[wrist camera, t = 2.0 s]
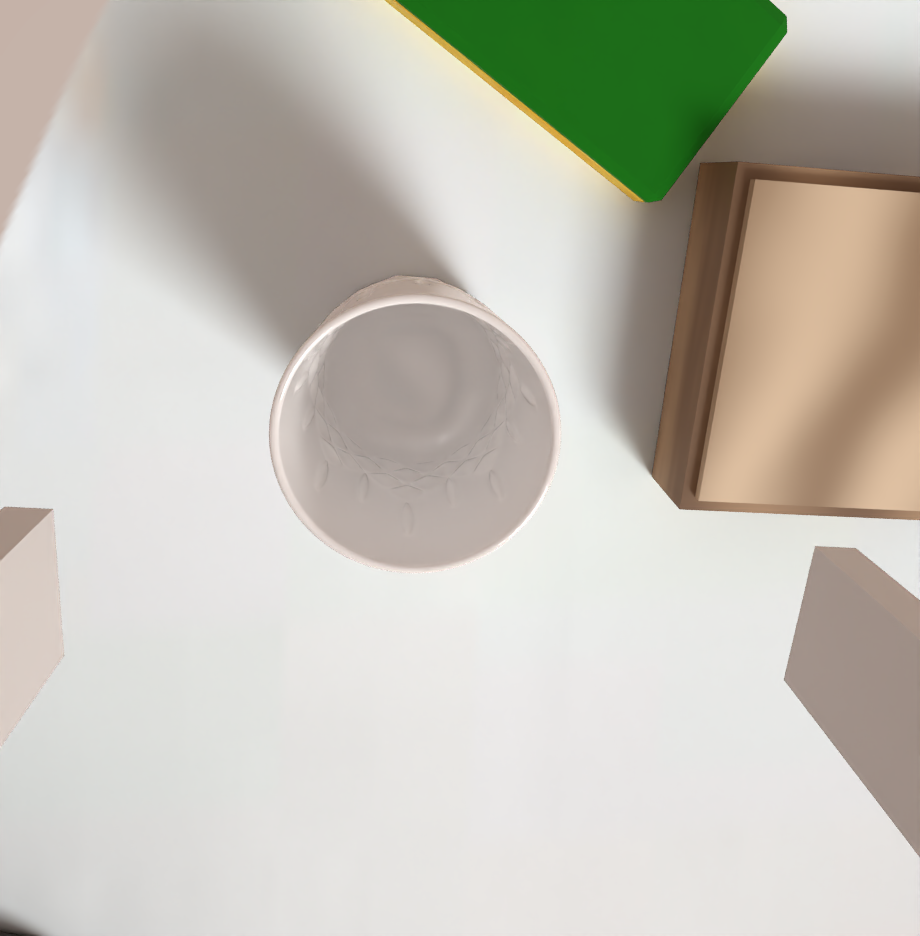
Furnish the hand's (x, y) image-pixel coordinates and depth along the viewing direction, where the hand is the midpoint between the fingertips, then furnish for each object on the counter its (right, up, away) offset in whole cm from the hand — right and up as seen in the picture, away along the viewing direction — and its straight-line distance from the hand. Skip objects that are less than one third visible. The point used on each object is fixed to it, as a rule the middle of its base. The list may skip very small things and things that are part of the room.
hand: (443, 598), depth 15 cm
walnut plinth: (+14, +7, +18) cm, 25 cm away
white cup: (-2, +6, +18) cm, 19 cm away
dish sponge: (+3, +19, +14) cm, 24 cm away
